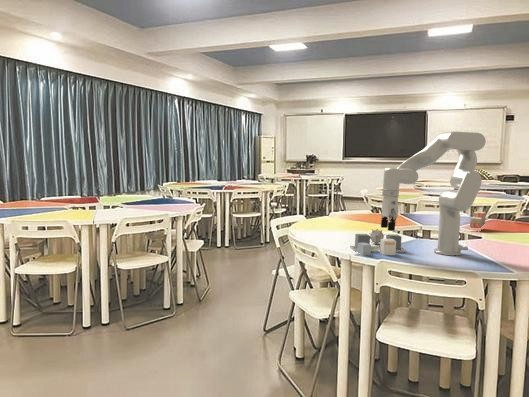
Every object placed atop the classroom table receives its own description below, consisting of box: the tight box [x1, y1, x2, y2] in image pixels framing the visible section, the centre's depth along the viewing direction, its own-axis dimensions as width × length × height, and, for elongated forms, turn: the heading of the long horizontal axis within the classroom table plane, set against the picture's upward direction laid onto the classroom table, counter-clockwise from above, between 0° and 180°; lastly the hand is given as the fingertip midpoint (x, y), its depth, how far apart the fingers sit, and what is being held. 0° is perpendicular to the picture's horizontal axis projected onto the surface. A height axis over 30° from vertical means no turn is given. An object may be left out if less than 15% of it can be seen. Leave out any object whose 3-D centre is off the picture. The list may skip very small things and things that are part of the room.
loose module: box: [379, 238, 397, 256], centre depth 208 cm, size 6×5×7 cm
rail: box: [349, 233, 407, 253], centre depth 217 cm, size 26×9×8 cm, turn 93°
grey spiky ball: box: [368, 228, 386, 246], centre depth 234 cm, size 9×8×10 cm
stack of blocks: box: [469, 211, 487, 228], centre depth 297 cm, size 21×6×12 cm, turn 145°
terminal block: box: [356, 243, 372, 256], centre depth 206 cm, size 4×6×5 cm, turn 13°
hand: (387, 229), depth 207 cm, fingers open, 9 cm apart
